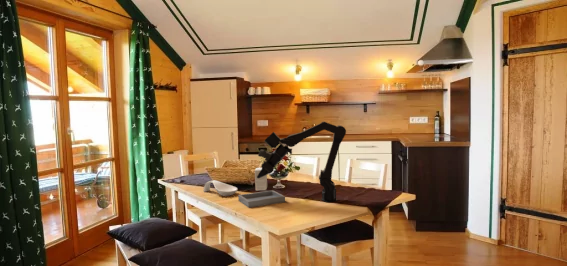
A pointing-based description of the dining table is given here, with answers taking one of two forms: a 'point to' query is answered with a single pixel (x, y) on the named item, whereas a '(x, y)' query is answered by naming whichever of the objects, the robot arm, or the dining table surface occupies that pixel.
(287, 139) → the robot arm
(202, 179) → the dining table surface
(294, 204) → the dining table surface
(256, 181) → the small box
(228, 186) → the spoon rest
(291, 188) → the dining table surface
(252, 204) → the tray
